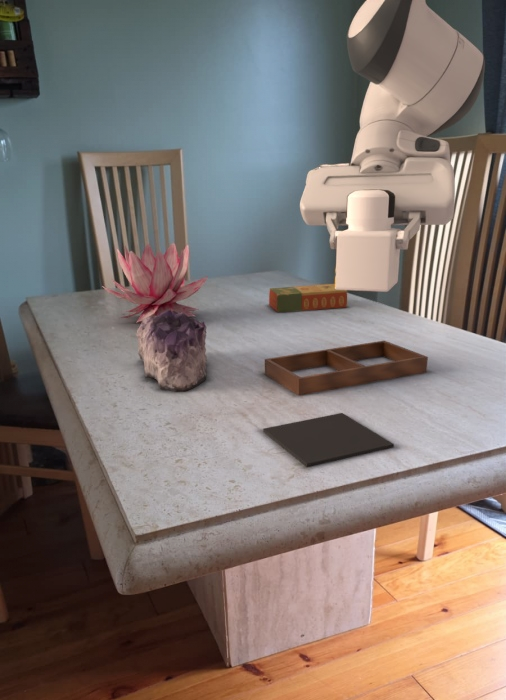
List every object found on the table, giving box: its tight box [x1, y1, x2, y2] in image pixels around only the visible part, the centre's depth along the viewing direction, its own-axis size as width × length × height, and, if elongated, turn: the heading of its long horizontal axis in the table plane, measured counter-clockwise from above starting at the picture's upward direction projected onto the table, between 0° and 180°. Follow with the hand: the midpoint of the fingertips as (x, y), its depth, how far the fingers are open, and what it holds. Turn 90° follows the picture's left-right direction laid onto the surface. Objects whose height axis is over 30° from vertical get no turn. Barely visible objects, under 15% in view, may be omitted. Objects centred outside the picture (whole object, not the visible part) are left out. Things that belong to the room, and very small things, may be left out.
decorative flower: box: [101, 242, 209, 324], centre depth 130 cm, size 21×21×15 cm
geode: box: [136, 310, 208, 393], centre depth 96 cm, size 20×12×10 cm, turn 14°
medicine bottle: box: [334, 189, 402, 293], centre depth 81 cm, size 7×7×12 cm
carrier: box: [264, 340, 429, 396], centre depth 94 cm, size 22×11×2 cm, turn 114°
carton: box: [268, 283, 348, 314], centre depth 139 cm, size 8×16×4 cm, turn 100°
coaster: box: [262, 412, 395, 468], centre depth 72 cm, size 11×11×1 cm
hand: (368, 246), depth 81 cm, fingers closed on medicine bottle, 7 cm apart
